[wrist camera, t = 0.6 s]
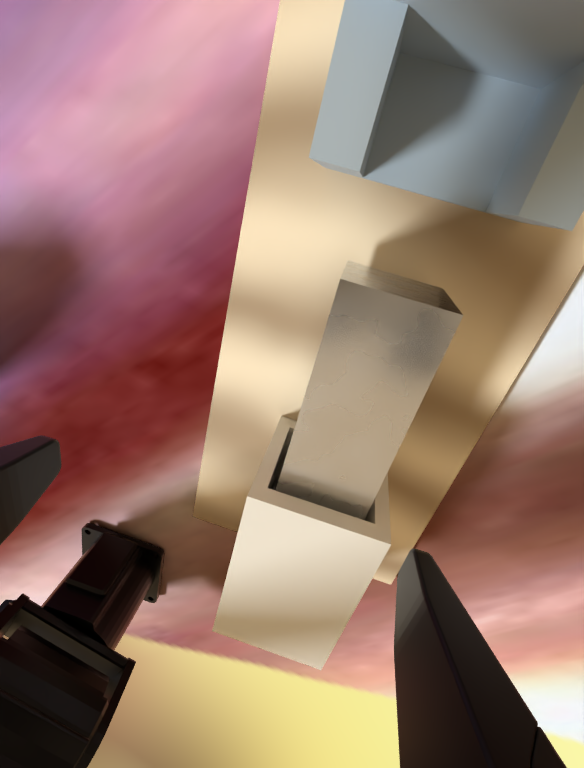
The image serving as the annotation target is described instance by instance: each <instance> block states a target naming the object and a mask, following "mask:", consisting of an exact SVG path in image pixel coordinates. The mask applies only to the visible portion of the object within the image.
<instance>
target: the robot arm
mask: <svg viewBox="0 0 584 768" xmlns="http://www.w3.org/2000/svg"><path fill="white" fill-rule="evenodd" d="M60 469H61V454H60V444H59V442H58V440H56V439H53V438H50V437H46V436H37V437H34V438H30V439H27V440H23V441H20V442H17V443H13V444H10V445H7V446H3V447H0V545H1V543H2V542H3V541H4V540H5V539H6V538H7V537H8V536H9V535H10V534H11V533H12V532H13V530H14V529H15V528H16V527H17V526H18V525H19V524H20V522H21V521H22V520H23V519H24V517H25V516H26V515H27V514H28V512H29V511H30V510H31V508H32V507H33V506H34V505H35V503H36V502H37V501H38V499H39V498H40V497H41V495H42V494H43V493H44V492H45V490H46V489H47V488H48V486H49V485H50V484H51V483H52V481H53V480H54V479H55V477H56V476H57V475H58V473H59V471H60ZM82 555H83V556H82V557H81V558H80V559H79V560H78V562H77V563H76V564H75V565H74V567H73V568H72V569H71V570H70V572H69V573H68V574H67V575H66V576H65V578H64V579H63V580H62V581H61V583H60V584H59V585H58V586H57V588H56V589H55V590H54V591H53V592H52V594H51V595H50V596H49V597H48V599H47V600H46V601H45V602H44V603H43V605H42V606H39V605H38V604H36V603H35V602H33V601H31V600H30V599H29V598H30V597H28V596H26V595H25V594H21V596H20V597H19V598H18V599H17V600H5V601H4V602H3V603H2V604H1V605H0V768H87V767H88V765H89V763H90V762H91V760H92V758H93V756H94V755H95V752H96V751H97V749H98V747H99V745H100V743H101V741H102V739H103V737H104V735H105V733H106V731H107V728H108V726H109V724H110V722H111V719H112V717H113V715H114V713H115V710H116V708H117V706H118V703H119V701H120V698H121V696H122V694H123V691H124V689H125V687H126V684H127V682H128V680H129V677H130V675H131V673H132V670H133V668H134V666H135V663H136V662H135V661H134V660H132V659H130V658H128V659H127V658H126V657H124V656H122V655H121V654H119V653H117V652H116V651H114V650H115V648H116V646H117V645H118V643H119V641H120V639H121V638H122V636H123V634H124V633H125V631H126V629H127V627H128V626H129V624H130V622H131V620H132V619H133V617H134V615H135V613H136V612H137V610H138V608H139V606H140V605H141V603H142V601H143V600H145V601H148V602H151V603H155V602H156V601H157V599H158V597H159V591H160V584H161V576H162V568H163V560H164V551H163V550H162V549H161V548H159V547H156V546H153V545H151V544H148V543H145V542H142V541H139V540H136V539H133V538H131V537H128V536H125V535H122V534H119V533H116V532H113V531H111V530H108V529H105V528H102V527H99V526H96V525H93V524H90V523H87V524H86V525H85V526H84V527H83V528H82ZM4 635H5V636H7V637H9V639H8V640H7V639H5V638H3V636H4ZM394 662H395V681H396V700H397V718H398V736H399V754H400V768H566V766H565V764H564V763H563V761H562V760H561V758H560V757H559V755H558V754H557V752H556V751H555V749H554V747H553V746H552V744H551V743H550V741H549V740H548V738H547V736H546V735H545V733H544V732H543V730H542V729H541V728H540V727H537V726H538V723H537V721H536V719H535V718H534V716H533V715H532V713H531V711H530V710H529V708H528V707H527V705H526V704H525V702H524V700H523V699H522V697H521V696H520V694H519V693H518V691H517V689H516V688H515V686H514V685H513V683H512V682H511V680H510V678H509V677H508V675H507V674H506V672H505V671H504V669H503V667H502V666H501V664H500V663H499V661H498V660H497V658H496V656H495V655H494V653H493V652H492V650H491V649H490V647H489V645H488V644H487V642H486V641H485V639H484V638H483V636H482V634H481V633H480V631H479V630H478V628H477V627H476V625H475V623H474V622H473V620H472V619H471V617H470V616H469V614H468V612H467V611H466V609H465V608H464V606H463V605H462V603H461V601H460V600H459V598H458V597H457V595H456V594H455V592H454V590H453V589H452V587H451V586H450V584H449V583H448V581H447V579H446V578H445V576H444V575H443V573H442V572H441V570H440V568H439V567H438V565H437V564H436V562H435V561H434V559H433V557H432V556H431V555H430V554H429V553H427V552H424V551H421V550H418V549H411V550H410V551H409V553H408V555H407V557H406V559H405V561H404V562H403V564H402V566H401V568H400V570H399V573H398V578H397V595H396V615H395V634H394Z"/></svg>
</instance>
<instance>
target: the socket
mask: <svg viewBox="0 0 584 768" xmlns="http://www.w3.org/2000/svg"><path fill="white" fill-rule="evenodd" d="M309 158H310V159H312V160H313V161H315V162H317V163H318V164H320V165H321V166H323V167H325V168H328V169H331V170H335V171H338V172H342V173H346V174H349V175H353V176H356V177H360V178H363V179H367V180H371V181H374V182H378V183H381V184H385V185H388V186H392V187H396V188H399V189H403V190H406V191H410V192H413V193H417V194H421V195H424V196H428V197H431V198H435V199H438V200H442V201H446V202H449V203H453V204H456V205H460V206H464V207H467V208H471V209H474V210H478V211H481V212H485V213H489V214H492V215H496V216H499V217H503V218H506V219H510V220H514V221H517V222H521V223H527V224H533V225H539V226H545V227H551V228H557V229H563V230H569V231H572V230H573V229H574V227H575V225H576V223H577V222H578V220H579V218H580V216H581V214H582V213H583V211H584V0H345V2H344V7H343V11H342V15H341V20H340V24H339V28H338V33H337V37H336V41H335V46H334V50H333V54H332V59H331V63H330V67H329V72H328V76H327V80H326V85H325V89H324V93H323V98H322V102H321V106H320V111H319V115H318V119H317V124H316V128H315V132H314V137H313V141H312V145H311V150H310V154H309Z"/></svg>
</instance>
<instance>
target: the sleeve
mask: <svg viewBox="0 0 584 768" xmlns="http://www.w3.org/2000/svg"><path fill="white" fill-rule="evenodd" d="M296 422H297V421H296V420H293V419H290V418H287V417H284V416H281V418H280V420H279V422H278V425H277V427H276V430H275V432H274V434H273V437H272V439H271V441H270V444H269V446H268V448H267V451H266V453H265V455H264V458H263V460H262V463H261V465H260V467H259V470H258V472H257V474H256V477H255V479H254V481H253V484H252V486H251V488H250V491H249V493H248V496H247V499H246V503H245V507H244V510H243V514H242V518H241V522H240V526H239V530H238V534H237V537H236V541H235V545H234V549H233V553H232V557H231V561H230V564H229V568H228V572H227V576H226V580H225V584H224V588H223V591H222V595H221V599H220V603H219V607H218V611H217V614H216V618H215V622H214V626H213V630H212V631H213V632H216V633H219V634H222V635H225V636H227V637H230V638H233V639H236V640H238V641H241V642H244V643H247V644H250V645H252V646H255V647H258V648H261V649H263V650H266V651H269V652H272V653H274V654H277V655H280V656H283V657H286V658H288V659H291V660H294V661H297V662H299V663H302V664H305V665H308V666H311V667H313V668H316V669H319V670H322V668H323V666H324V664H325V662H326V661H327V659H328V657H329V655H330V653H331V652H332V650H333V648H334V646H335V644H336V643H337V641H338V639H339V637H340V636H341V634H342V632H343V630H344V628H345V627H346V625H347V623H348V621H349V619H350V618H351V616H352V614H353V612H354V610H355V609H356V607H357V605H358V603H359V601H360V600H361V598H362V596H363V594H364V593H365V591H366V589H367V587H368V585H369V584H370V582H371V580H372V578H373V576H374V575H375V573H376V571H377V569H378V567H379V566H380V564H381V562H382V560H383V559H384V557H385V555H386V553H387V551H388V550H389V548H390V546H391V531H390V511H389V491H388V472H387V474H386V476H385V478H384V481H383V483H382V485H381V487H380V489H379V491H378V493H377V495H376V497H375V499H374V501H373V503H372V505H371V507H370V509H369V511H368V514H367V516H366V518H365V520H362V519H359V518H356V517H353V516H350V515H347V514H344V513H341V512H338V511H335V510H332V509H329V508H326V507H323V506H320V505H317V504H314V503H311V502H308V501H305V500H302V499H299V498H296V497H293V496H290V495H287V494H284V493H281V492H278V491H276V487H277V484H278V481H279V478H280V474H281V471H282V468H283V464H284V461H285V458H286V455H287V451H288V448H289V445H290V442H291V438H292V435H293V432H294V429H295V425H296Z"/></svg>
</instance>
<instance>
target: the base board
mask: <svg viewBox="0 0 584 768" xmlns="http://www.w3.org/2000/svg"><path fill="white" fill-rule="evenodd" d="M344 2H345V0H280V4H279V10H278V16H277V21H276V27H275V33H274V39H273V45H272V51H271V57H270V63H269V69H268V74H267V80H266V86H265V92H264V98H263V104H262V110H261V116H260V122H259V127H258V133H257V139H256V145H255V151H254V157H253V163H252V169H251V174H250V180H249V186H248V192H247V198H246V204H245V210H244V216H243V222H242V227H241V233H240V239H239V245H238V251H237V257H236V263H235V269H234V275H233V280H232V286H231V292H230V298H229V304H228V310H227V316H226V322H225V327H224V333H223V339H222V345H221V351H220V357H219V363H218V369H217V375H216V380H215V386H214V392H213V398H212V404H211V410H210V416H209V422H208V428H207V433H206V439H205V445H204V451H203V457H202V463H201V469H200V475H199V480H198V486H197V492H196V498H195V504H194V510H193V516H192V517H195V518H198V519H201V520H204V521H207V522H210V523H213V524H215V525H218V526H221V527H224V528H227V529H230V530H233V531H236V532H238V530H239V526H240V522H241V518H242V514H243V510H244V507H245V503H246V499H247V496H248V493H249V491H250V488H251V486H252V484H253V481H254V479H255V477H256V474H257V472H258V470H259V467H260V465H261V463H262V460H263V458H264V455H265V453H266V451H267V448H268V446H269V444H270V441H271V439H272V437H273V434H274V432H275V430H276V427H277V425H278V422H279V420H280V418H281V416H284V417H287V418H290V419H293V420H296V421H297V419H298V415H299V412H300V409H301V406H302V402H303V399H304V396H305V393H306V389H307V386H308V383H309V380H310V376H311V373H312V370H313V366H314V363H315V360H316V357H317V353H318V350H319V347H320V344H321V340H322V337H323V334H324V331H325V327H326V324H327V321H328V317H329V314H330V311H331V308H332V304H333V301H334V298H335V295H336V291H337V288H338V285H339V281H340V278H341V276H342V274H343V271H344V269H345V266H346V264H347V261H352V262H355V263H358V264H362V265H365V266H369V267H372V268H375V269H379V270H382V271H386V272H389V273H392V274H396V275H399V276H403V277H406V278H409V279H413V280H416V281H420V282H423V283H427V284H430V285H433V286H437V287H440V288H443V289H444V290H445V292H446V293H447V294H448V296H449V297H450V298H451V300H452V301H453V302H454V304H455V305H456V306H457V307H458V309H459V310H460V311H461V313H462V314H463V317H462V319H461V322H460V324H459V326H458V328H457V330H456V332H455V334H454V336H453V338H452V340H451V342H450V344H449V346H448V348H447V350H446V353H445V355H444V357H443V359H442V361H441V363H440V365H439V367H438V369H437V371H436V373H435V375H434V377H433V379H432V381H431V383H430V386H429V388H428V390H427V392H426V394H425V396H424V398H423V400H422V402H421V404H420V406H419V408H418V410H417V412H416V414H415V417H414V419H413V421H412V423H411V425H410V427H409V429H408V431H407V433H406V435H405V437H404V439H403V441H402V443H401V445H400V447H399V450H398V452H397V454H396V456H395V458H394V460H393V462H392V464H391V466H390V468H389V470H388V491H389V511H390V531H391V546H390V548H389V550H388V551H387V553H386V555H385V557H384V559H383V560H382V562H381V564H380V566H379V567H378V569H377V571H376V573H375V575H374V576H373V579H376V580H379V581H382V582H385V583H388V584H390V585H391V584H392V582H393V580H394V579H395V577H396V575H397V574H398V572H399V570H400V568H401V566H402V564H403V562H404V561H405V559H406V557H407V555H408V553H409V551H410V550H411V549H413V547H414V545H415V544H416V542H417V541H418V539H419V537H420V536H421V534H422V532H423V531H424V529H425V527H426V526H427V524H428V522H429V521H430V519H431V517H432V516H433V514H434V512H435V511H436V509H437V507H438V506H439V504H440V502H441V501H442V499H443V497H444V496H445V494H446V492H447V491H448V489H449V488H450V486H451V484H452V483H453V481H454V479H455V478H456V476H457V474H458V473H459V471H460V469H461V468H462V466H463V464H464V463H465V461H466V459H467V458H468V456H469V454H470V453H471V451H472V449H473V448H474V446H475V444H476V443H477V441H478V439H479V438H480V436H481V435H482V433H483V431H484V430H485V428H486V426H487V425H488V423H489V421H490V420H491V418H492V416H493V415H494V413H495V411H496V410H497V408H498V406H499V405H500V403H501V401H502V400H503V398H504V396H505V395H506V393H507V391H508V390H509V388H510V386H511V385H512V383H513V382H514V380H515V378H516V377H517V375H518V373H519V372H520V370H521V368H522V367H523V365H524V363H525V362H526V360H527V358H528V357H529V355H530V353H531V352H532V350H533V348H534V347H535V345H536V343H537V342H538V340H539V338H540V337H541V335H542V333H543V332H544V330H545V329H546V327H547V325H548V324H549V322H550V320H551V319H552V317H553V315H554V314H555V312H556V310H557V309H558V307H559V305H560V304H561V302H562V300H563V299H564V297H565V295H566V294H567V292H568V290H569V289H570V287H571V285H572V284H573V282H574V281H575V279H576V277H577V276H578V274H579V272H580V271H581V269H582V267H583V266H584V211H583V213H582V214H581V216H580V218H579V220H578V222H577V223H576V225H575V227H574V229H573V230H572V231H569V230H563V229H557V228H551V227H545V226H539V225H533V224H527V223H521V222H517V221H514V220H510V219H506V218H503V217H499V216H496V215H492V214H489V213H485V212H481V211H478V210H474V209H471V208H467V207H464V206H460V205H456V204H453V203H449V202H446V201H442V200H438V199H435V198H431V197H428V196H424V195H421V194H417V193H413V192H410V191H406V190H403V189H399V188H396V187H392V186H388V185H385V184H381V183H378V182H374V181H371V180H367V179H363V178H360V177H356V176H353V175H349V174H346V173H342V172H338V171H335V170H331V169H328V168H325V167H323V166H321V165H320V164H318V163H317V162H315V161H313V160H312V159H310V158H309V154H310V150H311V145H312V141H313V137H314V132H315V128H316V124H317V119H318V115H319V111H320V106H321V102H322V98H323V93H324V89H325V85H326V80H327V76H328V72H329V67H330V63H331V59H332V54H333V50H334V46H335V41H336V37H337V33H338V28H339V24H340V20H341V15H342V11H343V7H344Z"/></svg>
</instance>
